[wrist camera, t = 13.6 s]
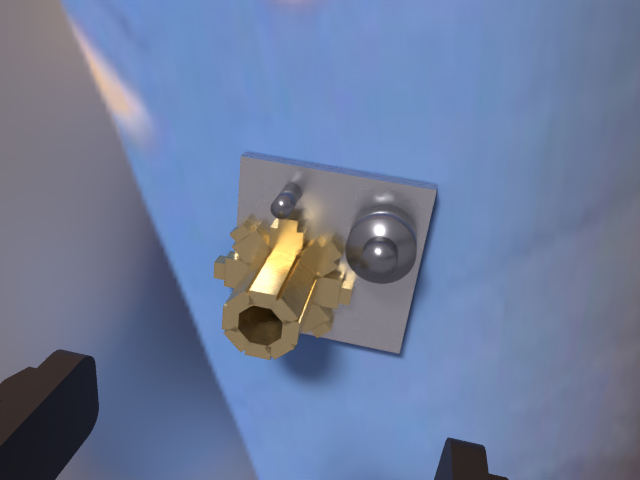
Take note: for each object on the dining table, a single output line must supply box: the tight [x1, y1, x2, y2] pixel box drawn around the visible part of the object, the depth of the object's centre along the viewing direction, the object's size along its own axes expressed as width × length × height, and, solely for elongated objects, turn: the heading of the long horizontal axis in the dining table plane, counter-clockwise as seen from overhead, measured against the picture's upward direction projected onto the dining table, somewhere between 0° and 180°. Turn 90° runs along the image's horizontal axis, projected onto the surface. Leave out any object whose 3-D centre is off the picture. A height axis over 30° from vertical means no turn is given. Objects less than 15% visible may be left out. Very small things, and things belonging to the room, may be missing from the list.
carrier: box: [233, 152, 437, 354], centre depth 39 cm, size 14×14×6 cm
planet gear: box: [214, 213, 354, 360], centre depth 39 cm, size 11×11×7 cm
